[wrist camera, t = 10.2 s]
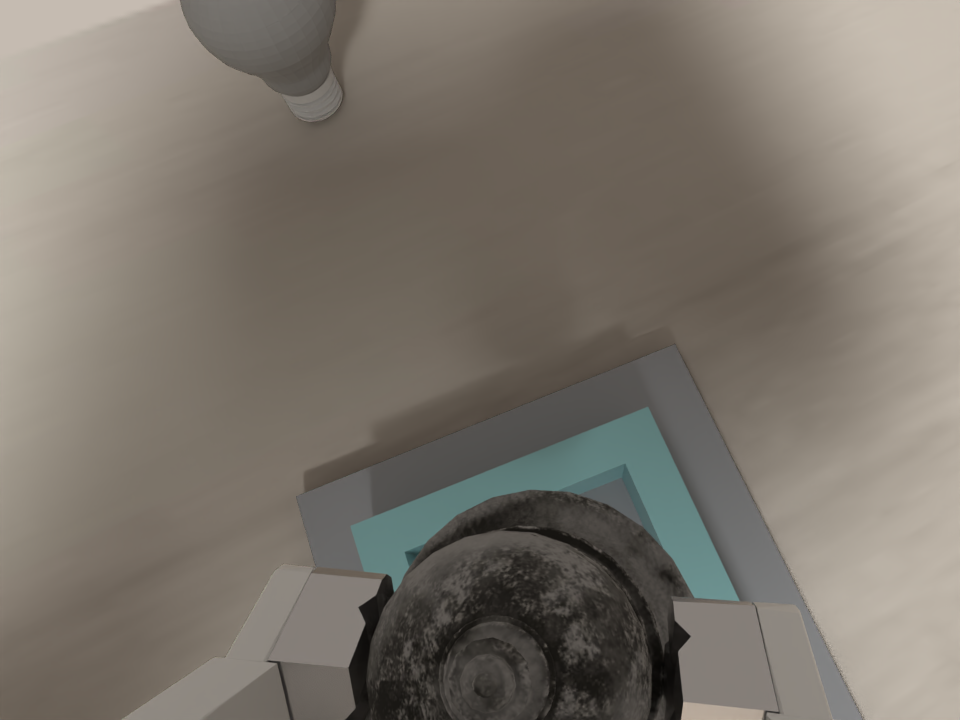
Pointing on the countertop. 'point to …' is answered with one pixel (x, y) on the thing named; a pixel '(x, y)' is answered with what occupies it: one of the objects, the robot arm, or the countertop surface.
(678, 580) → the salt shaker
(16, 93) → the countertop surface
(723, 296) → the countertop surface
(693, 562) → the socket
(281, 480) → the countertop surface
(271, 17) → the light bulb
